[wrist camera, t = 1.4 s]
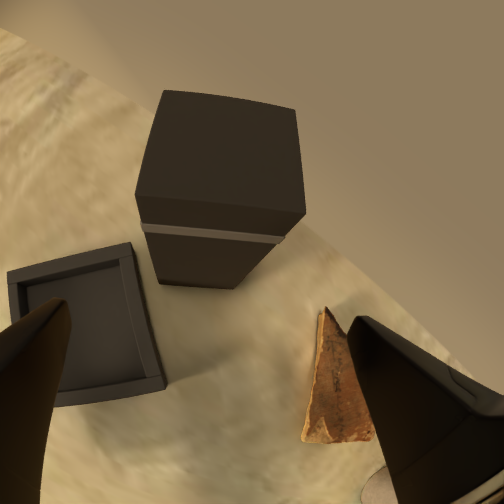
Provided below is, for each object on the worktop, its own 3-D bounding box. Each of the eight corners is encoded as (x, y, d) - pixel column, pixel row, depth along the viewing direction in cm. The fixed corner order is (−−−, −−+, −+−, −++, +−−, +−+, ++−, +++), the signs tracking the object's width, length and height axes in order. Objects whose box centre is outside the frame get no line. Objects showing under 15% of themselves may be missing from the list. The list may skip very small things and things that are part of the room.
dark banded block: (233, 290, 21) (308, 215, 9) (158, 284, 20) (132, 196, 8) (235, 226, 23) (296, 108, 11) (165, 220, 22) (162, 88, 10)
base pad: (167, 384, 18) (166, 389, 16) (43, 404, 14) (30, 409, 12) (134, 251, 20) (130, 241, 18) (19, 278, 17) (6, 271, 15)
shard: (316, 308, 22) (327, 305, 21) (387, 322, 24) (400, 320, 22) (293, 438, 18) (302, 445, 17) (369, 436, 20) (381, 440, 18)
